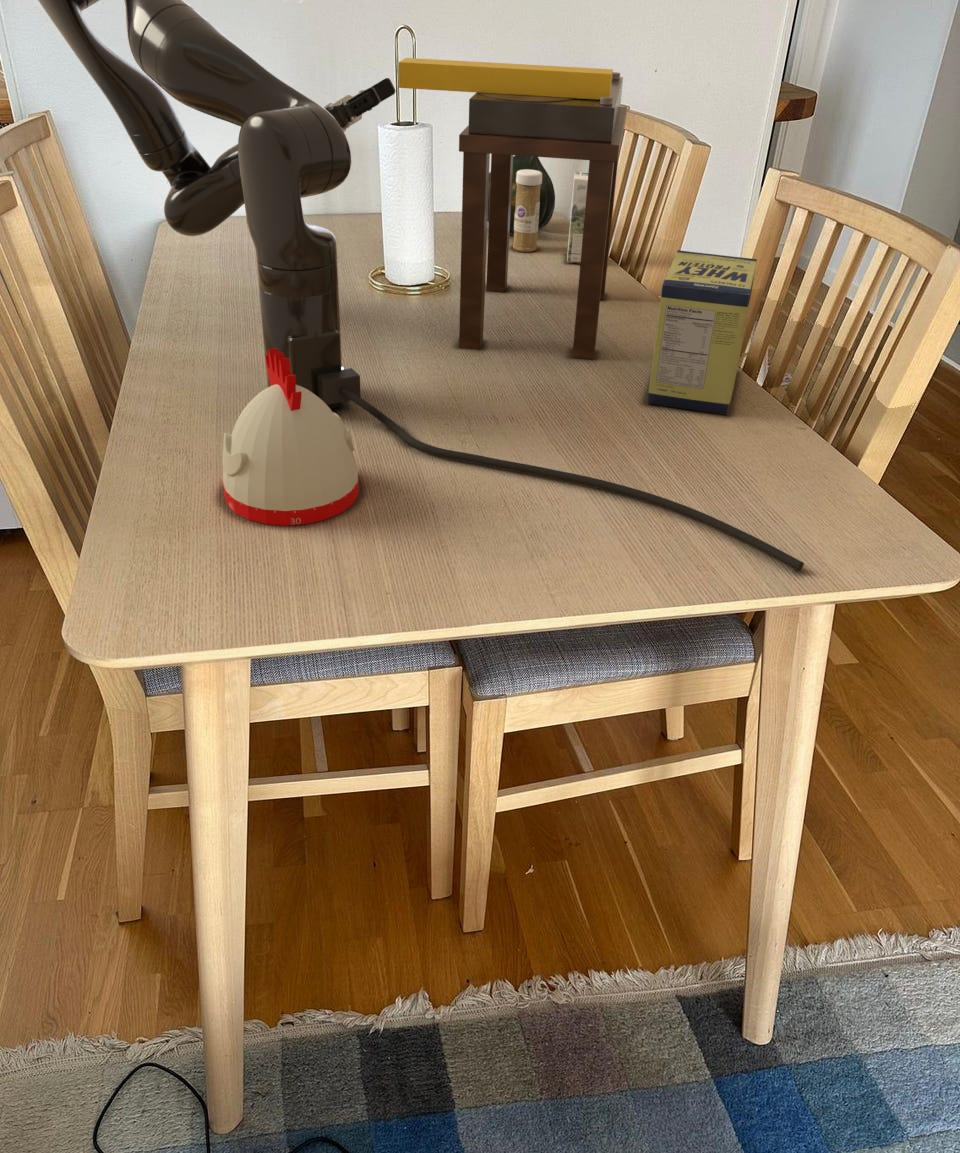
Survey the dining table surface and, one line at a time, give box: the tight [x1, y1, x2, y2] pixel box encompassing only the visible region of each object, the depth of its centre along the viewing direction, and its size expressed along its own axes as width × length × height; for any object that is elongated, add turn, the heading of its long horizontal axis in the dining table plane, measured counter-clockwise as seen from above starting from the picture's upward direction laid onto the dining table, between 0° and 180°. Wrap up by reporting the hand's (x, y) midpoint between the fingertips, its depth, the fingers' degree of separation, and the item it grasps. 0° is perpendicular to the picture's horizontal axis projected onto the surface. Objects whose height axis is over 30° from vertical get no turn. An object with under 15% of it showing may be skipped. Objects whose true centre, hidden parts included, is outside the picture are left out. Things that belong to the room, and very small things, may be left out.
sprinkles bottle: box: [512, 169, 542, 253], centre depth 181 cm, size 5×5×13 cm
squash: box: [487, 155, 556, 235], centre depth 192 cm, size 14×15×15 cm
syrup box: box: [566, 171, 589, 265], centre depth 176 cm, size 6×6×14 cm
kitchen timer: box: [221, 348, 360, 526], centre depth 102 cm, size 14×14×15 cm
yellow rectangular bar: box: [398, 57, 614, 100], centre depth 129 cm, size 27×4×3 cm, turn 81°
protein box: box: [646, 249, 758, 416], centre depth 129 cm, size 10×16×16 cm
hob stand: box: [458, 71, 628, 360], centre depth 144 cm, size 20×30×33 cm, turn 171°
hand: (384, 89), depth 132 cm, fingers open, 8 cm apart
